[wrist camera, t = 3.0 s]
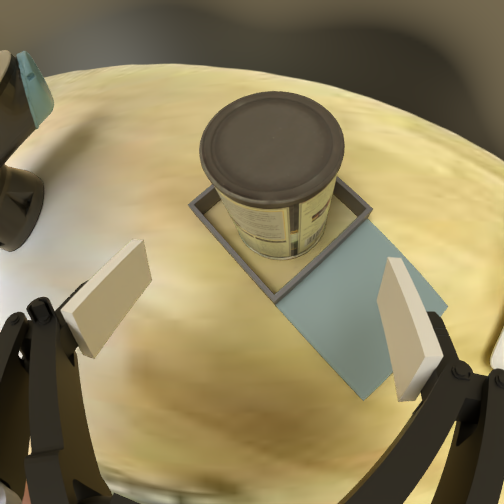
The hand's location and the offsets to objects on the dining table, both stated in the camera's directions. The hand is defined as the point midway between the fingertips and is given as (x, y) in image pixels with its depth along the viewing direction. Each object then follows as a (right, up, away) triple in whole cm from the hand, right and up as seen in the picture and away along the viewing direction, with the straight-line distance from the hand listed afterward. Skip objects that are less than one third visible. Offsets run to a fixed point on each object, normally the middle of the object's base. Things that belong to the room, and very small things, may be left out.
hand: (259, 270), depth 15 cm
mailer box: (+7, 0, +15) cm, 17 cm away
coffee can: (+3, +5, +18) cm, 19 cm away
